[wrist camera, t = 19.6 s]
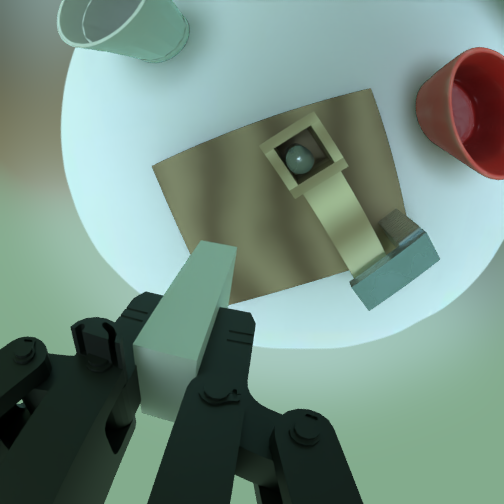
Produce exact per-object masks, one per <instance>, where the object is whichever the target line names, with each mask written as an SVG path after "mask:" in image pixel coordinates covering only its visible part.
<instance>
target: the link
mask: <svg viewBox="0 0 504 504" xmlns="http://www.w3.org/2000/svg"><path fill="white" fill-rule="evenodd" d="M306 128H307V129H308V131H309V132H310V134H311V135H312V137H313V138H314V140H315V141H316V143H317V144H318V146H319V147H320V149H321V150H322V152H323V154H324V155H325V158H323V159H322V160H320V161H318V162H317V163H315V164H314V165H313V167H312V168H311V170H310V171H308V172H307V173H304V174H297V175H296V176H295V175H294V173H293V172H292V171H291V170H290V169H289V168H288V166H287V163H286V161H285V160H284V158H283V157H282V156H281V154H280V153H279V151H278V150H277V148H276V147H277V146H279V145H280V144H282V143H283V142H285V141H286V140H288V139H290V138H291V137H293V136H294V135H296V134H298V133H299V132H301V131H302V130H304V129H306ZM259 147H260V148H261V150H262V151H263V153H264V154H265V155H266V157H267V158H268V160H269V161H270V163H271V164H272V166H273V167H274V168H275V170H276V171H277V173H278V174H279V176H280V177H281V179H282V180H283V182H284V183H285V185H286V186H287V188H288V189H289V191H290V192H291V194H292V195H293V197H294V198H295V199H296V198H298V197H299V196H301V195H302V194H303V195H304V196H305V198H306V199H307V201H308V203H309V204H310V206H311V207H312V209H313V210H314V212H315V214H316V215H317V217H318V218H319V220H320V222H321V223H322V225H323V227H324V228H325V230H326V231H327V233H328V235H329V236H330V238H331V240H332V241H333V243H334V245H335V246H336V248H337V250H338V251H339V253H340V255H341V257H342V258H343V260H344V262H345V263H346V265H347V267H348V269H349V270H350V272H351V274H352V276H353V277H354V278H355V277H357V276H358V275H360V274H361V273H363V272H364V271H365V270H367V269H368V268H370V267H371V266H372V265H374V264H375V263H377V262H378V261H379V260H381V259H382V258H383V257H385V256H386V254H385V251H384V249H383V247H382V245H381V243H380V241H379V239H378V238H377V236H376V234H375V232H374V230H373V228H372V226H371V224H370V222H369V220H368V218H367V216H366V215H365V213H364V211H363V209H362V207H361V205H360V204H359V202H358V200H357V198H356V196H355V195H354V193H353V191H352V189H351V188H350V186H349V184H348V183H347V181H346V179H345V177H344V176H343V174H342V172H341V171H342V170H343V169H345V168H347V167H348V164H347V163H346V161H345V159H344V158H343V156H342V154H341V153H340V151H339V149H338V148H337V146H336V145H335V143H334V141H333V140H332V138H331V137H330V135H329V134H328V132H327V130H326V129H325V127H324V126H323V124H322V123H321V121H320V120H319V118H318V117H317V115H316V114H315V112H314V111H313V112H312V113H310V114H308V115H307V116H305V117H303V118H302V119H300V120H299V121H297V122H295V123H294V124H292V125H290V126H289V127H287V128H286V129H284V130H283V131H281V132H279V133H278V134H276V135H275V136H273V137H272V138H270V139H269V140H267V141H265V142H264V143H262V144H261V145H259Z"/></svg>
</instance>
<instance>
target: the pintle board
mask: <svg viewBox="0 0 504 504" xmlns="http://www.w3.org/2000/svg"><path fill="white" fill-rule="evenodd" d="M313 111H314V112H315V114H316V115H317V117H318V118H319V120H320V121H321V123H322V124H323V126H324V127H325V129H326V130H327V132H328V134H329V135H330V137H331V138H332V140H333V141H334V143H335V145H336V146H337V148H338V149H339V151H340V153H341V154H342V156H343V158H344V159H345V161H346V163H347V164H348V167H347V168H345V169H343V170H342V171H341V172H342V174H343V176H344V177H345V179H346V181H347V183H348V184H349V186H350V188H351V189H352V191H353V193H354V195H355V196H356V198H357V200H358V202H359V204H360V205H361V207H362V209H363V211H364V213H365V215H366V216H367V218H368V220H369V222H370V224H371V226H372V228H373V230H374V232H375V234H376V236H377V238H378V239H379V241H380V243H381V245H382V247H383V249H384V251H385V254H386V255H387V254H389V253H390V252H392V251H393V250H394V249H396V247H395V246H394V245H393V243H392V242H391V241H390V240H389V238H388V237H387V235H386V234H385V232H384V231H383V229H382V228H381V226H380V224H379V223H378V222H379V221H380V220H382V219H383V218H384V217H385V216H387V215H388V214H389V213H391V212H392V211H393V210H395V209H398V210H399V211H400V212H402V213H403V214H404V215H406V213H405V208H404V203H403V198H402V194H401V189H400V185H399V181H398V176H397V172H396V168H395V164H394V161H393V157H392V153H391V150H390V146H389V142H388V139H387V136H386V132H385V129H384V126H383V123H382V120H381V116H380V113H379V110H378V107H377V104H376V102H375V99H374V96H373V93H372V90H371V88H370V89H366V90H361V91H357V92H353V93H349V94H345V95H342V96H338V97H334V98H330V99H327V100H323V101H320V102H316V103H313V104H310V105H306V106H303V107H300V108H297V109H293V110H290V111H287V112H284V113H281V114H278V115H275V116H272V117H269V118H266V119H264V120H261V121H258V122H255V123H252V124H250V125H247V126H244V127H242V128H239V129H236V130H234V131H231V132H229V133H226V134H224V135H221V136H219V137H216V138H214V139H211V140H209V141H206V142H204V143H202V144H199V145H197V146H195V147H192V148H190V149H188V150H185V151H183V152H181V153H179V154H177V155H174V156H172V157H170V158H168V159H166V160H163V161H161V162H159V163H157V164H155V165H153V166H152V168H153V170H154V173H155V175H156V178H157V180H158V182H159V185H160V187H161V189H162V192H163V194H164V196H165V199H166V201H167V203H168V206H169V208H170V210H171V212H172V215H173V217H174V219H175V221H176V224H177V226H178V228H179V230H180V233H181V235H182V237H183V239H184V241H185V243H186V246H187V248H188V250H189V252H190V254H192V253H193V251H194V250H195V248H196V247H197V245H198V244H199V242H200V241H201V240H202V241H207V242H213V243H218V244H223V245H229V246H234V247H237V252H236V259H235V265H234V272H233V278H232V285H231V291H230V298H229V304H228V305H231V304H234V303H238V302H242V301H246V300H249V299H253V298H256V297H260V296H264V295H267V294H271V293H274V292H278V291H281V290H285V289H288V288H292V287H295V286H299V285H302V284H305V283H309V282H312V281H315V280H319V279H322V278H325V277H329V276H332V275H335V274H338V273H342V272H345V271H348V270H349V269H348V267H347V265H346V263H345V262H344V260H343V258H342V257H341V255H340V253H339V251H338V250H337V248H336V246H335V245H334V243H333V241H332V240H331V238H330V236H329V235H328V233H327V231H326V230H325V228H324V227H323V225H322V223H321V222H320V220H319V218H318V217H317V215H316V214H315V212H314V210H313V209H312V207H311V206H310V204H309V203H308V201H307V199H306V198H305V196H304V195H303V194H302V195H301V196H299V197H298V198H296V199H295V198H294V197H293V195H292V194H291V192H290V191H289V189H288V188H287V186H286V185H285V183H284V182H283V180H282V179H281V177H280V176H279V174H278V173H277V171H276V170H275V168H274V167H273V166H272V164H271V163H270V161H269V160H268V158H267V157H266V155H265V154H264V153H263V151H262V150H261V148H260V147H259V145H261V144H262V143H264V142H265V141H267V140H269V139H270V138H272V137H273V136H275V135H276V134H278V133H279V132H281V131H283V130H284V129H286V128H287V127H289V126H290V125H292V124H294V123H295V122H297V121H299V120H300V119H302V118H303V117H305V116H307V115H308V114H310V113H312V112H313ZM293 143H298V144H301V145H302V146H304V147H305V148H307V149H308V150H310V151H311V153H312V154H313V157H314V164H315V163H317V162H318V161H320V160H322V159H323V158H325V155H324V154H323V152H322V150H321V149H320V147H319V146H318V144H317V143H316V141H315V140H314V138H313V137H312V135H311V134H310V132H309V131H308V129H307V128H306V129H304V130H302V131H301V132H299V133H298V134H296V135H294V136H293V137H291V138H290V139H288V140H286V141H285V142H283V143H282V144H280V145H279V146H277V147H276V148H277V150H278V151H279V153H280V154H281V156H282V157H283V158H284V160H285V161H286V158H285V150H286V148H287V147H288V146H289V145H290V144H293ZM314 164H313V165H314ZM293 173H294V172H293ZM294 175H295V176H296V175H297V173H294Z"/></svg>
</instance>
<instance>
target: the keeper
mask: <svg viewBox="0 0 504 504" xmlns="http://www.w3.org/2000/svg"><path fill="white" fill-rule="evenodd" d="M378 223H379V224H380V226H381V228H382V229H383V231H384V232H385V234H386V235H387V237H388V238H389V240H390V241H391V242H392V243H393V245H394V246H395V247H396V249H394V250H393V251H392V252H390V253H389V254H387V255H386V256H385V257H383V258H382V259H381V260H379V261H378V262H377V263H375V264H374V265H372V266H371V267H370V268H368V269H367V270H365V271H364V272H363V273H361V274H360V275H358V276H357V277H355V278H354V279H353V280H351V281H350V285H351V287H352V289H353V290H354V291H355V293H356V294H357V295H358V297H359V298H360V299H361V301H362V302H363V303H364V305H365V306H366V308H367V309H368V310H369V311H370V310H371V309H373V308H374V307H376V306H377V305H379V304H380V303H381V302H383V301H384V300H386V299H387V298H389V297H390V296H392V295H393V294H394V293H396V292H397V291H399V290H400V289H401V288H403V287H404V286H406V285H407V284H408V283H410V282H411V281H412V280H414V279H415V278H416V277H418V276H419V275H420V274H422V273H423V272H424V271H426V270H427V269H428V268H430V267H431V266H432V265H434V264H435V263H436V262H437V261H439V260H440V258H439V256H438V254H437V252H436V250H435V248H434V246H433V244H432V242H431V240H430V238H429V236H428V235H427V233H426V232H425V231H424V230H423V229H421V228H420V227H419V226H418V225H417V224H416V223H414V222H413V221H412V220H411V219H409V218H408V217H407V216H406V215H404V214H403V213H402V212H400V211H399V210H398V209H395V210H393V211H392V212H391V213H389V214H388V215H387V216H385V217H384V218H383V219H382V220H380V221H379V222H378Z"/></svg>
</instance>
